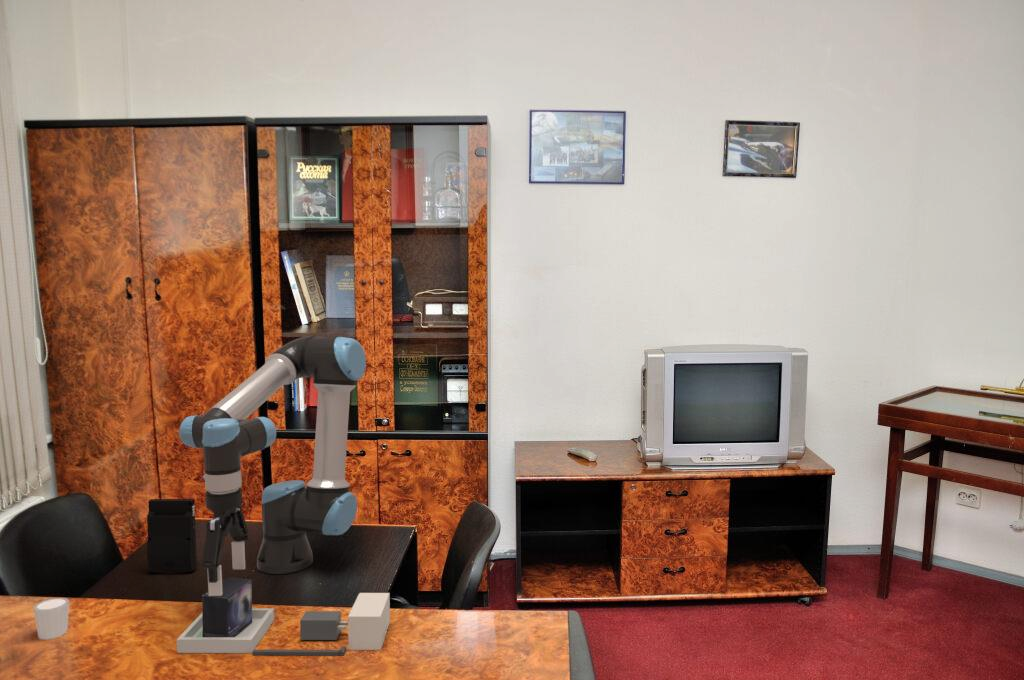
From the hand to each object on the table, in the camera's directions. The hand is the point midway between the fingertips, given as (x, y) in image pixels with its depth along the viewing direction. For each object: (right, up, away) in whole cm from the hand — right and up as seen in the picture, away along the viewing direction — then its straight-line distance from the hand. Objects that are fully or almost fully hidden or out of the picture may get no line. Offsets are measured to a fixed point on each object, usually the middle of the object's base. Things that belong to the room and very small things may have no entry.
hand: (227, 581), depth 164 cm
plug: (+21, -13, +1) cm, 24 cm away
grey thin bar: (+18, -13, -7) cm, 23 cm away
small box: (0, -12, +1) cm, 12 cm away
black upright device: (-29, -10, +36) cm, 48 cm away
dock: (0, -13, +1) cm, 13 cm away
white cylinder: (-40, -13, +1) cm, 42 cm away
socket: (+31, -13, +1) cm, 33 cm away
